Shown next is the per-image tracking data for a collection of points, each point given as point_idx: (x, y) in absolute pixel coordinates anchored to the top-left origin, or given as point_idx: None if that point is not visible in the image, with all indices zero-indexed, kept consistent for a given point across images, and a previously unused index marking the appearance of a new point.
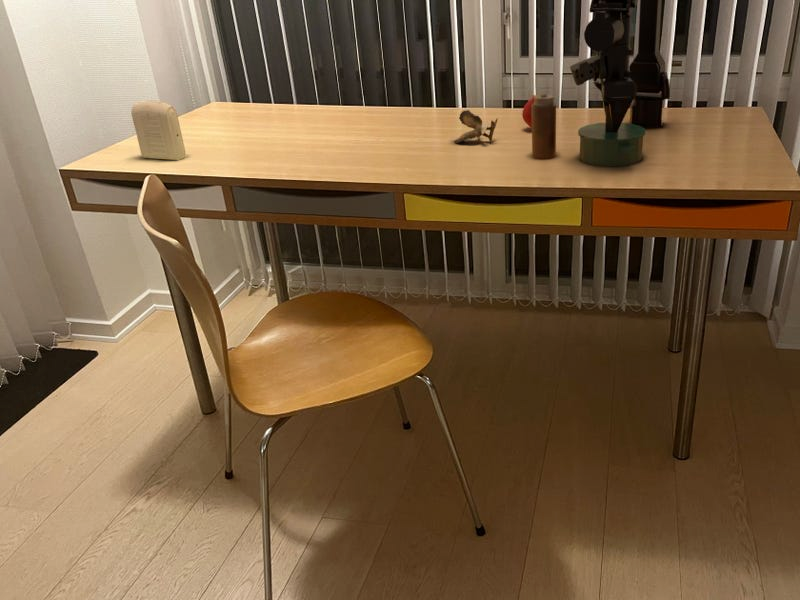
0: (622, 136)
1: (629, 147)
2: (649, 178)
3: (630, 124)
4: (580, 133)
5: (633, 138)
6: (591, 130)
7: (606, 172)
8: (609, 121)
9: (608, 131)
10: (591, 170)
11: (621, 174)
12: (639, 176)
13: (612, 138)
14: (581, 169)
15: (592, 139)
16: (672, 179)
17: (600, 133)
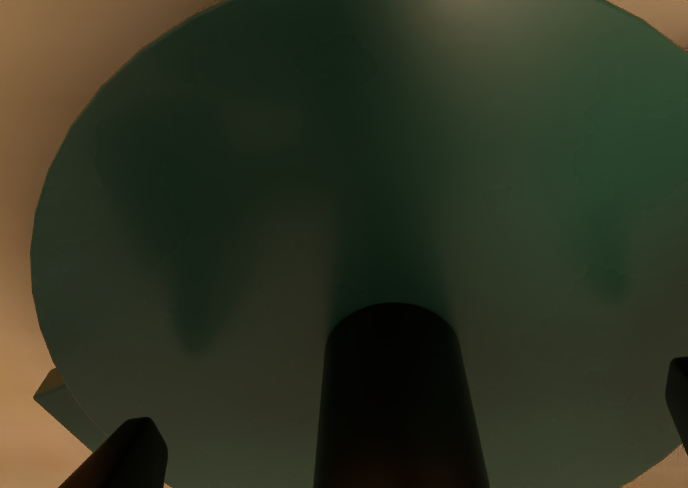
0: (185, 428)
1: (68, 426)
2: (3, 400)
3: (606, 477)
4: (242, 14)
5: (172, 480)
6: (407, 158)
7: (22, 198)
8: (321, 428)
9: (332, 334)
10: (30, 92)
11: (16, 282)
12: (17, 363)
13: (92, 364)
14: (28, 6)
15: (45, 182)
16: (29, 472)
17: (267, 262)
